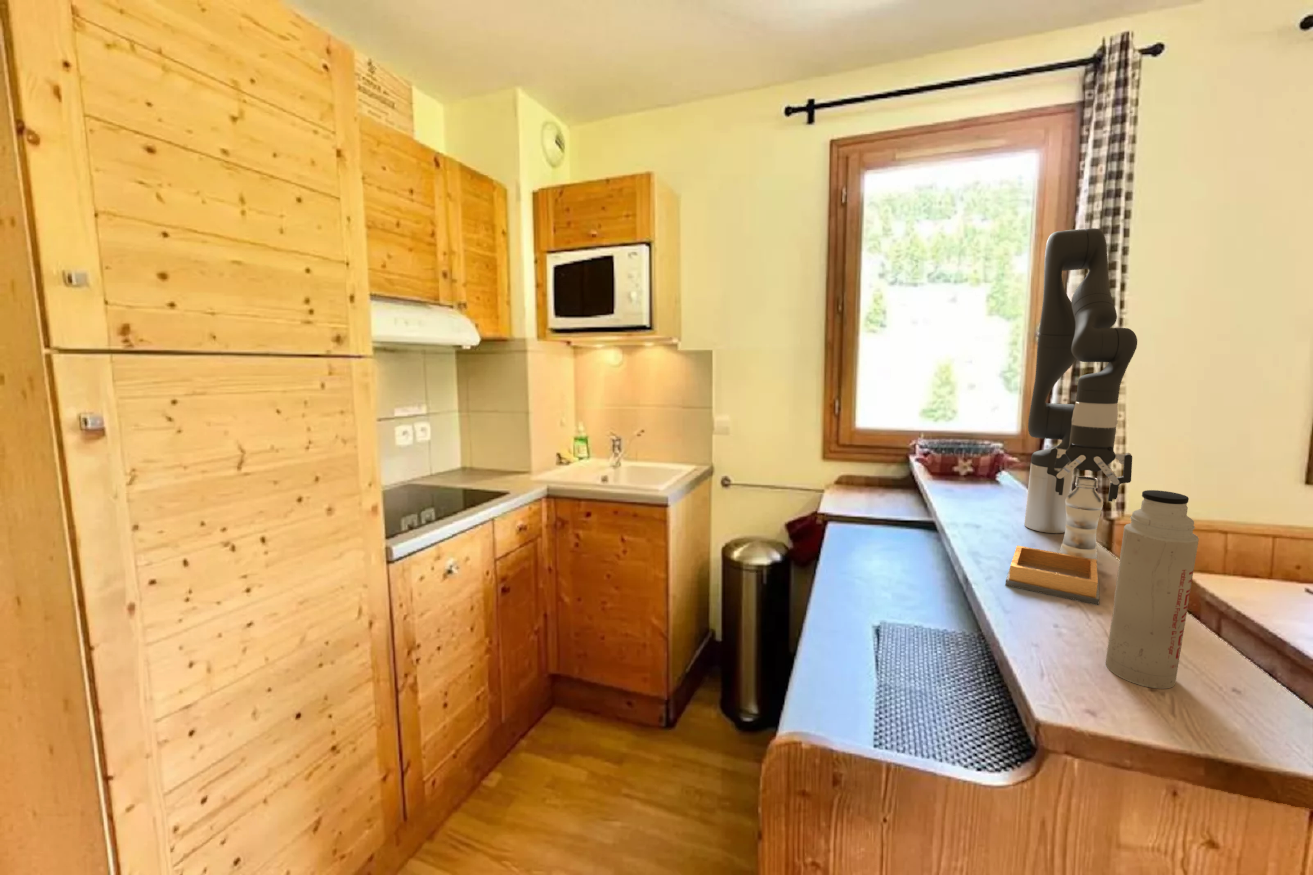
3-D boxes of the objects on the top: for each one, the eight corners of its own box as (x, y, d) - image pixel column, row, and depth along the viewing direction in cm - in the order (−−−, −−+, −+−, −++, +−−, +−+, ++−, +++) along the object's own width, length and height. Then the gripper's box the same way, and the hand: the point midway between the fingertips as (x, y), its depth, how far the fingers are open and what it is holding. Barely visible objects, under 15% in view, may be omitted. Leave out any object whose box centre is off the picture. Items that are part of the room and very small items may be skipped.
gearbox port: (1012, 561, 125) (1014, 544, 124) (1097, 578, 116) (1099, 559, 115) (1005, 585, 113) (1007, 565, 113) (1098, 605, 104) (1101, 584, 104)
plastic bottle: (1102, 572, 119) (1114, 482, 115) (1066, 570, 120) (1077, 481, 117) (1085, 561, 125) (1096, 475, 122) (1052, 559, 126) (1062, 474, 123)
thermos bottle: (1186, 680, 81) (1217, 496, 77) (1156, 694, 78) (1186, 504, 73) (1123, 653, 89) (1148, 483, 84) (1093, 665, 85) (1117, 490, 81)
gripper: (1136, 424, 116) (1126, 499, 118) (1053, 419, 124) (1045, 489, 127) (1139, 428, 110) (1128, 507, 113) (1051, 423, 119) (1043, 496, 121)
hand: (1084, 497), depth 120 cm, fingers open, 8 cm apart
